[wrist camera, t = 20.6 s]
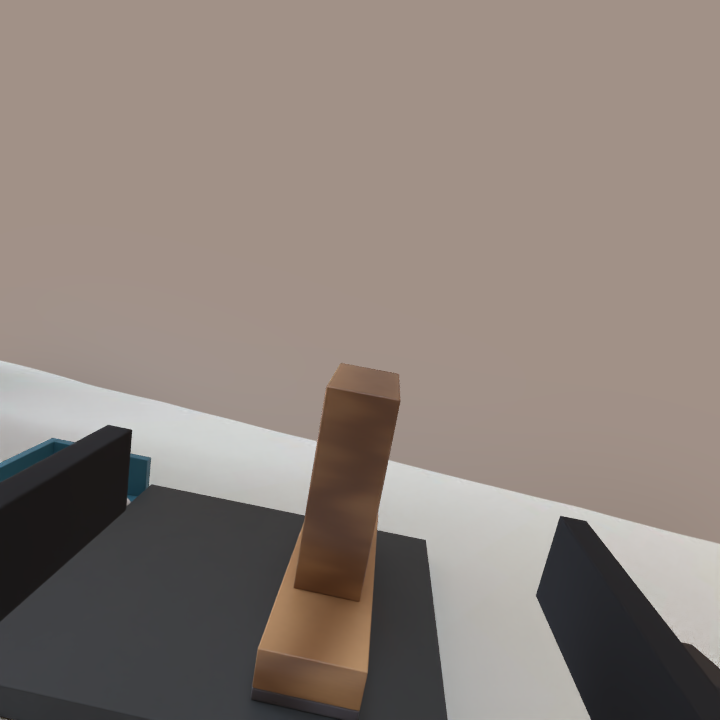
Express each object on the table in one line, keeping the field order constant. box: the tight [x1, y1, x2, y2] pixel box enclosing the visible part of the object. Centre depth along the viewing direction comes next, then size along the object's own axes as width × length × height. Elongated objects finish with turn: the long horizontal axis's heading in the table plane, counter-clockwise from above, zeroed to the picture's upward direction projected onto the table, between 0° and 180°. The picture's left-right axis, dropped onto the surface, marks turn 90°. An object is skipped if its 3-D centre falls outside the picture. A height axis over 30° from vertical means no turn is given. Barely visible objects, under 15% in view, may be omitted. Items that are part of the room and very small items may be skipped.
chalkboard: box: [0, 485, 447, 720], centre depth 24 cm, size 20×15×2 cm
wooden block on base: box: [251, 363, 400, 720], centre depth 22 cm, size 4×12×12 cm, turn 176°
